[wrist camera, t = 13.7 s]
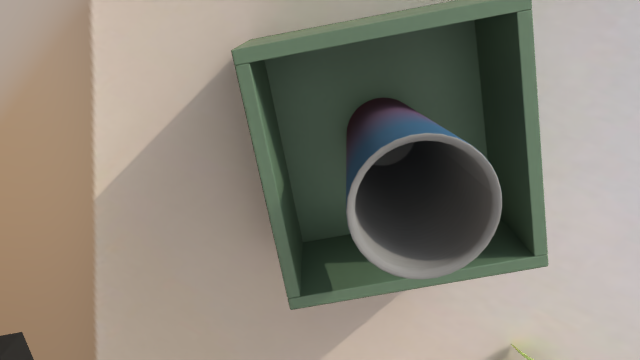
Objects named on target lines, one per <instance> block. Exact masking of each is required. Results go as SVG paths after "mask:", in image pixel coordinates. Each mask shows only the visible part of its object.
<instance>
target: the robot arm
mask: <svg viewBox="0 0 640 360" xmlns="http://www.w3.org/2000/svg"><path fill="white" fill-rule="evenodd" d="M0 360H34V359H33V357H32V355H31V352H30V350H29V348H28V345H27V343H26V341H25V338H24V336H23V333H22V332H19V333H14V334H8V335H3V336H0Z"/></svg>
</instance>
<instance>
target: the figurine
mask: <svg viewBox="0 0 640 360" xmlns="http://www.w3.org/2000/svg"><path fill="white" fill-rule="evenodd" d="M511 345H512V344H511ZM512 346H513V345H512ZM513 347H514V348H515V349H516V350H517V351H518V352H519V353H520V354H521V355H522V356H524V357H525V358H526V359H528V360H534V359H532V358H530V357H528V356H527V355H525V354H524V353H522V352H521V351H520V350H518V349H517V348H516V347H515V346H513Z"/></svg>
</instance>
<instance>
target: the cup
mask: <svg viewBox="0 0 640 360" xmlns="http://www.w3.org/2000/svg"><path fill="white" fill-rule="evenodd" d="M501 210H502V191H501V187H500V184H499V180H498V177H497V175H496V173H495V171H494V169H493V167H492V165H491V164H490V162H489V161H488V160H487V159H486V158H485V156H484V155H483V154H482V153H481V152H480V151H478V150H477V149H476V148H475V147H473V146H472V145H471V144H469V143H468V142H466V141H464V140H463V139H461V138H459V137H458V136H456V135H455V134H453V133H451V132H450V131H448V130H446V129H445V128H443V127H442V126H440V125H438V124H437V123H435V122H433V121H432V120H430V119H428V118H427V117H425V116H424V115H422V114H420V113H419V112H417V111H415V110H414V109H412V108H411V107H409V106H407V105H406V104H404V103H402V102H400V101H398V100H396V99H392V98H375V99H372V100H369V101H367V102H366V103H364V104H362V105H361V106H360V107H359V108H358V109H356V111H355V112H354V113H353V115H352V116H351V118H350V120H349V123H348V127H347V140H346V216H347V224H348V228H349V231H350V234H351V237H352V239H353V241H354V243H355V244H356V246H357V248H358V249H359V251H360V252H361V253H362V254H363V255H364V256H365V257H366V258H367V260H368V261H369V262H371V263H372V264H374V265H375V266H377V267H378V268H379V269H381V270H383V271H385V272H387V273H390V274H392V275H394V276H399V277H403V278H407V279H430V278H438V277H441V276H444V275H447V274H451V273H453V272H455V271H457V270H459V269H461V268H463V267H465V266H466V265H467V264H469V263H470V262H471V261H473V260H474V259H475V258H477V257H478V255H479V254H480V253H481V252H482V251H483V250H484V249H485V248H486V247H487V245H488V244H489V242H490V240H491V239H492V237H493V236H494V234H495V231H496V229H497V226H498V224H499V221H500V216H501Z"/></svg>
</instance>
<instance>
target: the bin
mask: <svg viewBox="0 0 640 360" xmlns="http://www.w3.org/2000/svg"><path fill="white" fill-rule="evenodd" d="M531 9H532V2H531V0H455V1H450V2H444V3H439V4H434V5H429V6H424V7H418V8H413V9H408V10H403V11H397V12H392V13H387V14H382V15H377V16H371V17H366V18H361V19H356V20H350V21H345V22H340V23H335V24H330V25H324V26H319V27H314V28H309V29H303V30H298V31H293V32H288V33H283V34H277V35H272V36H267V37H262V38H257V39H251V40H249V41H247V42H245V43H244V44H242V45H240V46H238V47H237V48H235V49H233V50H231V52H232V56H233V61H234V65H236V66H235V69H236V73H237V78H238V82H239V87H240V91H241V95H242V100H243V104H244V109H245V113H246V117H247V122H248V126H249V130H250V135H251V139H252V144H253V148H254V152H255V157H256V161H257V166H258V170H259V174H260V179H261V183H262V188H263V192H264V196H265V201H266V205H267V210H268V214H269V218H270V223H271V227H272V232H273V236H274V240H275V245H276V249H277V253H278V258H279V262H280V267H281V271H282V275H283V280H284V284H285V289H286V293H287V297H288V302H289V306H290V309H291V310H293V309H299V308H305V307H311V306H317V305H322V304H328V303H334V302H340V301H346V300H352V299H358V298H364V297H369V296H375V295H381V294H387V293H393V292H399V291H405V290H411V289H417V288H422V287H428V286H434V285H440V284H446V283H452V282H458V281H464V280H469V279H475V278H481V277H487V276H493V275H499V274H505V273H511V272H517V271H522V270H528V269H534V268H540V267H546V266H548V255H547V254H548V251H547V236H546V220H545V205H544V189H543V174H542V158H541V143H540V127H539V112H538V96H537V81H536V65H535V50H534V34H533V19H532V10H531ZM375 98H392V99H396V100H398V101H400V102H402V103H404V104H406V105H407V106H409V107H411V108H412V109H414V110H415V111H417V112H419V113H420V114H422V115H424V116H425V117H427V118H428V119H430V120H432V121H433V122H435V123H437V124H438V125H440V126H442V127H443V128H445V129H446V130H448V131H450V132H451V133H453V134H455V135H456V136H458V137H459V138H461V139H463V140H464V141H466V142H468V143H469V144H471V145H472V146H473V147H475V148H476V149H477V150H478V151H480V152H481V153H482V154H483V155H484V156H485V158H486V159H487V160H488V161H489V162H490V164H491V165H492V167H493V169H494V171H495V173H496V175H497V177H498V180H499V184H500V187H501V191H502V210H501V216H500V221H499V224H498V226H497V229H496V231H495V234H494V236H493V237H492V239H491V240H490V242H489V244H488V245H487V247H486V248H485V249H484V250H483V251H482V252H481V253H480V254H479V255H478V257H477V258H475V259H474V260H473V261H471V262H470V263H469V264H467V265H466V266H465V267H463V268H461V269H459V270H457V271H455V272H453V273H451V274H447V275H444V276H441V277H438V278H430V279H407V278H403V277H399V276H394V275H392V274H390V273H387V272H385V271H383V270H381V269H379V268H378V267H377V266H375V265H374V264H372V263H371V262H369V261H368V260H367V258H366V257H365V256H364V255H363V254H362V253H361V252H360V251H359V249H358V248H357V246H356V244H355V243H354V241H353V239H352V237H351V234H350V231H349V228H348V224H347V216H346V140H347V127H348V123H349V120H350V118H351V116H352V115H353V113H354V112H355V111H356V109H358V108H359V107H360V106H361V105H362V104H364V103H366V102H367V101H369V100H372V99H375Z"/></svg>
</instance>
